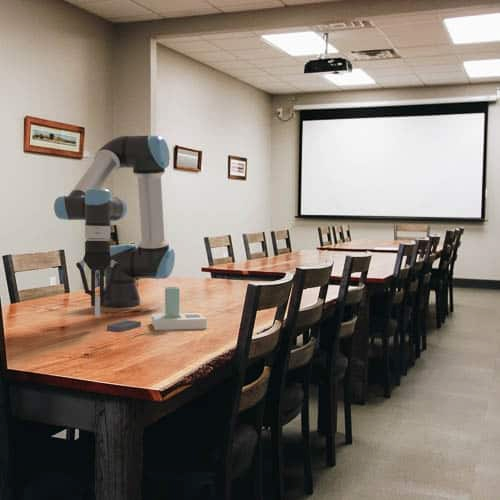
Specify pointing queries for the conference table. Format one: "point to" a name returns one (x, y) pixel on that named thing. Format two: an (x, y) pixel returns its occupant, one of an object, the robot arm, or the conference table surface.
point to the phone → (123, 325)
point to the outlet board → (179, 321)
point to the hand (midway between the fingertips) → (97, 316)
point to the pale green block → (171, 302)
